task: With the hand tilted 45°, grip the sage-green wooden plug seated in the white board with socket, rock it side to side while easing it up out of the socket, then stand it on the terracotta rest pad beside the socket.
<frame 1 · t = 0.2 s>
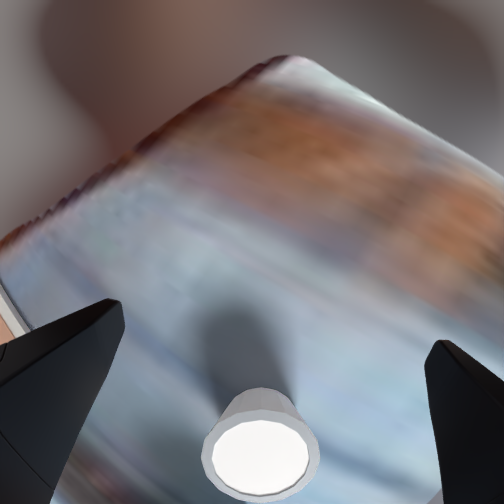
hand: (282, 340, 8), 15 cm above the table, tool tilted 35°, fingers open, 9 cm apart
white cup: (260, 419, 22), on the table
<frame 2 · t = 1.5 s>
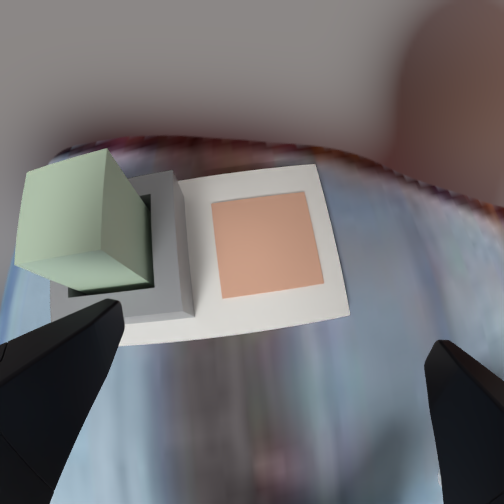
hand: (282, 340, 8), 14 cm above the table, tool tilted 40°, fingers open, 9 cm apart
white board with socket: (197, 256, 23), on the table
plug: (129, 262, 22), point 1 cm above the table, touching white board with socket
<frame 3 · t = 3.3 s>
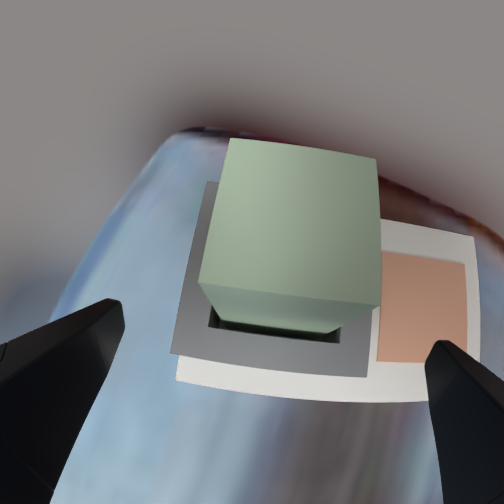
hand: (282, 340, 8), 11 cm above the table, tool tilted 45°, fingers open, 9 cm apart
white board with socket: (352, 306, 19), on the table
plug: (276, 293, 18), point 1 cm above the table, touching white board with socket
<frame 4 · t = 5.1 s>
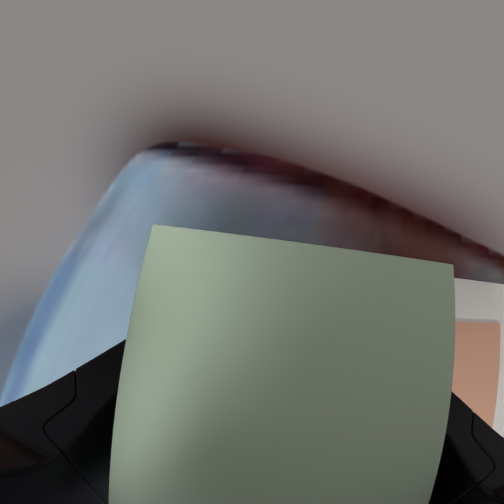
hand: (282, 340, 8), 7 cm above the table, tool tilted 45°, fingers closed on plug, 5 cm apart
white board with socket: (364, 387, 14), on the table
plug: (265, 381, 13), point 1 cm above the table, touching gripper, white board with socket
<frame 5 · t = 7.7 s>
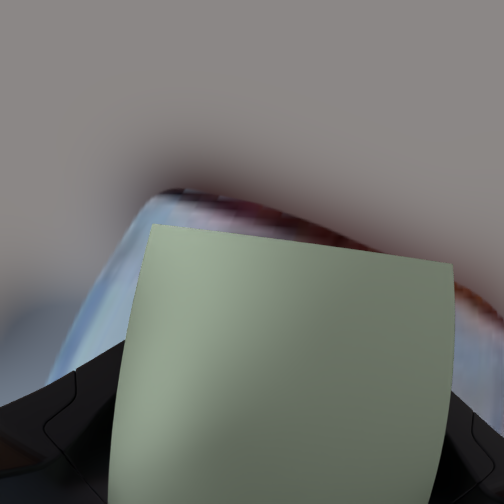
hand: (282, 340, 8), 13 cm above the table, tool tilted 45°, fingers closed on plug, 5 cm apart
plug: (265, 380, 13), point 7 cm above the table, touching gripper
when the fingers open (8 cm above the table, at t = 10.3 s): plug stays where it is, resting on white board with socket.
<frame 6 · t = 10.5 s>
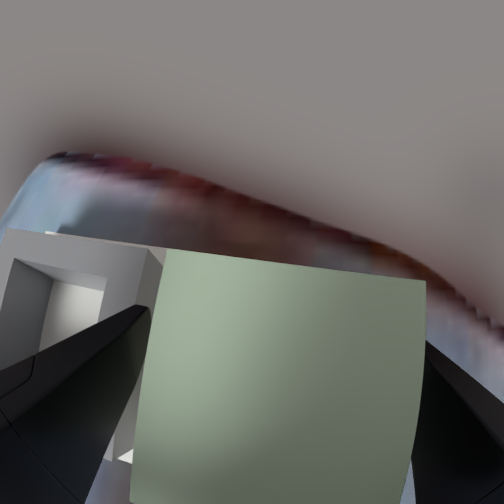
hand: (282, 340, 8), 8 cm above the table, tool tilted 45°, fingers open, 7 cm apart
white board with socket: (169, 363, 15), on the table
plug: (264, 380, 14), point 1 cm above the table, touching white board with socket
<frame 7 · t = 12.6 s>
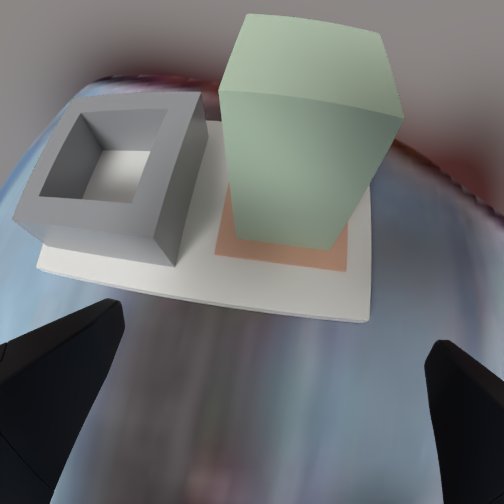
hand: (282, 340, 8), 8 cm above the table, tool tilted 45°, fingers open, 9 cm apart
white board with socket: (203, 203, 19), on the table
plug: (287, 203, 17), point 1 cm above the table, touching white board with socket
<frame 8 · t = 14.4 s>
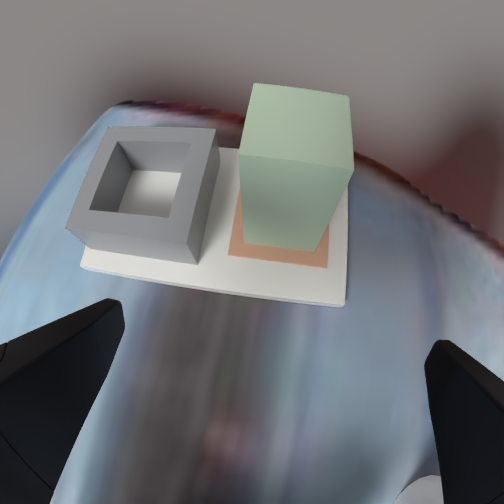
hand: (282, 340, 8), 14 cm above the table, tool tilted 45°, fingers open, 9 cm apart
white cup: (419, 503, 16), on the table
white board with socket: (217, 215, 24), on the table
plug: (282, 216, 23), point 1 cm above the table, touching white board with socket
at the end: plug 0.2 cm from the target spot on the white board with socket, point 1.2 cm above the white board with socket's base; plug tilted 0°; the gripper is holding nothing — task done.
